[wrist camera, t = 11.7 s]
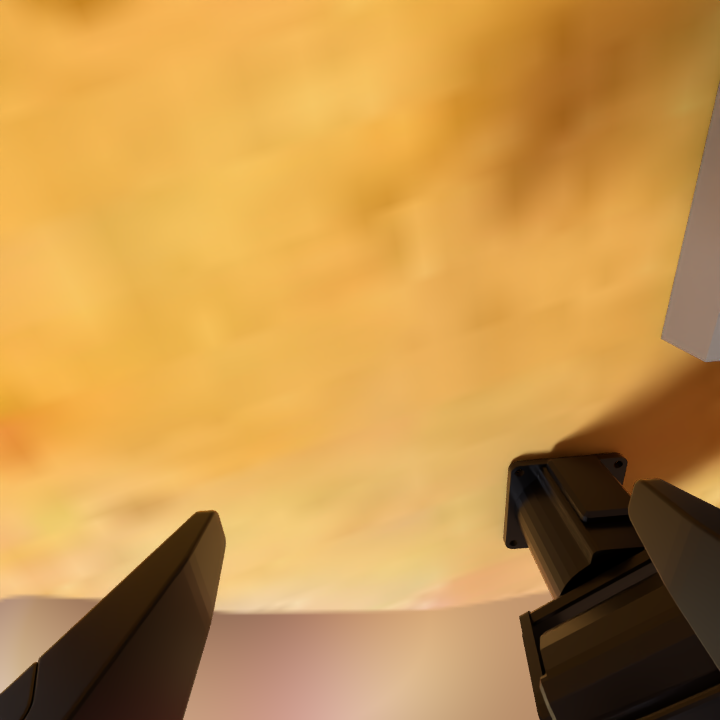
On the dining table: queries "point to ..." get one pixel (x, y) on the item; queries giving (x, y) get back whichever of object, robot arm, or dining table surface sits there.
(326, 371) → the dining table surface
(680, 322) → the gray rectangular tray
